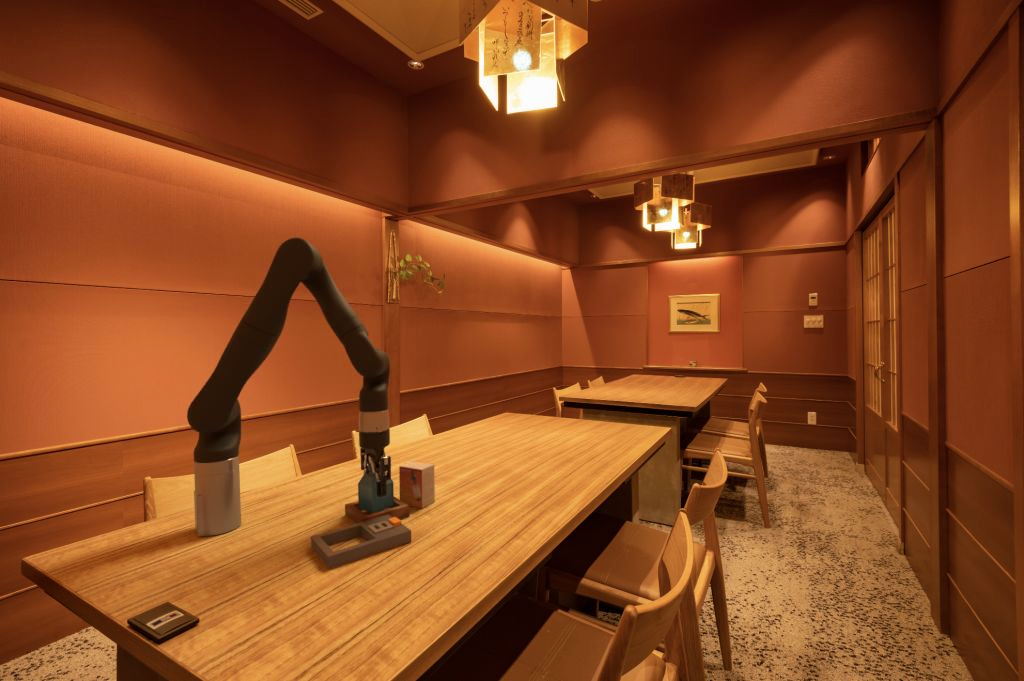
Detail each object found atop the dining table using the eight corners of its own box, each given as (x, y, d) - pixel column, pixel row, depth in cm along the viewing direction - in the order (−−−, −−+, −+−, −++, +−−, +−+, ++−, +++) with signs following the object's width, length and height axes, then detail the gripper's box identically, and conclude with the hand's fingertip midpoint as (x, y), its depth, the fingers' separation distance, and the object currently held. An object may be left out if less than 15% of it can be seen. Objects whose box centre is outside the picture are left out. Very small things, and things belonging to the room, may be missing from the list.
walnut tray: (362, 530, 109) (362, 518, 109) (345, 515, 118) (344, 504, 118) (409, 516, 117) (408, 505, 116) (389, 503, 126) (388, 493, 126)
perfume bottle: (373, 513, 113) (372, 465, 113) (358, 508, 117) (357, 461, 116) (393, 505, 118) (392, 459, 118) (378, 500, 122) (377, 455, 121)
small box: (399, 504, 125) (398, 465, 125) (412, 497, 130) (411, 460, 130) (422, 509, 121) (421, 469, 121) (435, 501, 126) (434, 463, 126)
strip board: (328, 569, 91) (328, 552, 91) (311, 547, 101) (310, 532, 100) (411, 541, 103) (410, 526, 103) (388, 524, 112) (388, 511, 112)
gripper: (349, 425, 120) (351, 488, 120) (371, 434, 109) (372, 503, 109) (377, 421, 125) (378, 481, 125) (400, 429, 114) (402, 496, 114)
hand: (375, 491), depth 117 cm, fingers closed on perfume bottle, 7 cm apart
